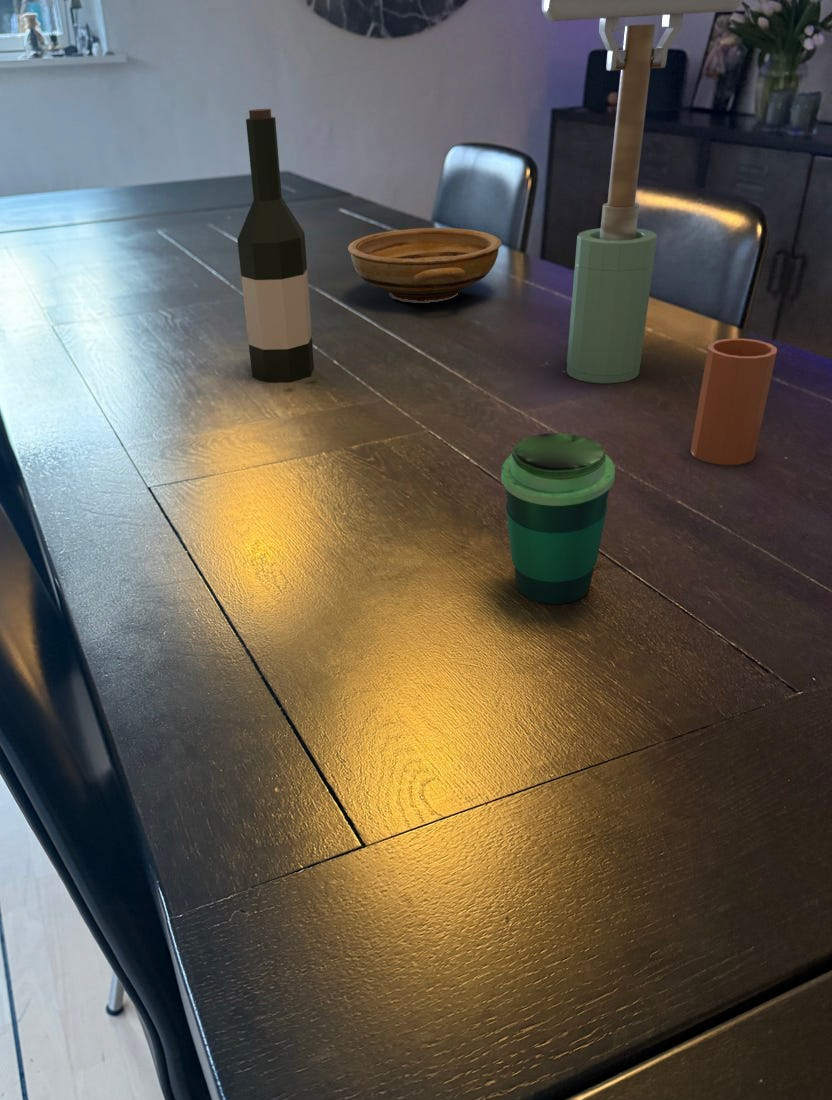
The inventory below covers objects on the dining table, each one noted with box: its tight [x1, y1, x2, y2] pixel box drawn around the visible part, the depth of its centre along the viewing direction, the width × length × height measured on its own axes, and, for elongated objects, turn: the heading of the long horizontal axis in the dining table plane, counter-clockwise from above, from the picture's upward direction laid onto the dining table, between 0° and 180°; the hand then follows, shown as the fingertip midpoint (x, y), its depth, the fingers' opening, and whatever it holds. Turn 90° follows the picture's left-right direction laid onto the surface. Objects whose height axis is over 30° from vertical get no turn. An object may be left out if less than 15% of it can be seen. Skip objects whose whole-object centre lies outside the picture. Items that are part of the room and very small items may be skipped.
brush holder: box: [690, 338, 778, 466], centre depth 90 cm, size 6×6×11 cm
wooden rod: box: [600, 23, 656, 241], centre depth 102 cm, size 4×4×22 cm
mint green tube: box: [566, 227, 658, 384], centre depth 111 cm, size 9×9×16 cm
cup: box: [500, 432, 616, 605], centre depth 70 cm, size 8×8×12 cm
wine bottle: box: [236, 108, 315, 383], centre depth 113 cm, size 8×8×30 cm
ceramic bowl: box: [347, 227, 502, 301], centre depth 149 cm, size 30×24×8 cm
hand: (635, 69), depth 98 cm, fingers closed on wooden rod, 3 cm apart
